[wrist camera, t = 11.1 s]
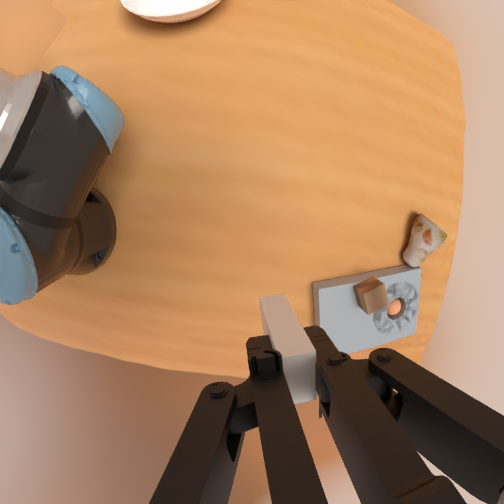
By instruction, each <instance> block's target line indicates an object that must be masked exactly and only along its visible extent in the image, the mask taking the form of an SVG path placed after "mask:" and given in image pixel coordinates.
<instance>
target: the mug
mask: <svg viewBox="0 0 504 504" xmlns="http://www.w3.org/2000/svg"><path fill="white" fill-rule="evenodd" d="M446 237H447V234H446V233H445V232H444V231H443V230H441V229H440V228H439V227H438V226H437V225H435V224H434V223H433V222H432V221H430V220H429V219H428V218H427V217H425V216H424V215H422V214H419V215H418V216H417V218H416V219H415V221H414V223H413V227H412V232H411V237H410V241H409V244H408V246H407V248H406V250H405V251H404V253H403V259H404V261H405V262H406V263H407V264H408V265H410V266H411V267H417V266H419V265H420V264H421V263H422V262H423V261H424V260H425V258H426V256H427V255H429V254H430V253H432V252H433V251H435V250H436V249H437V248H439V247H440V246H441V245H442V244H443V243H444V241H445V240H446Z"/></svg>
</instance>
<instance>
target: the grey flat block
mask: <svg viewBox="0 0 504 504" xmlns="http://www.w3.org/2000/svg"><path fill="white" fill-rule="evenodd" d="M372 276H373V277H375V278H376V279H378V280H380V281H381V282H383V283H384V284H385V289H386V294H387V298H388V304H390V303H391V302H392V301H393V300H394V299H395V298H398V299H399V300H400V302H401V309H400V311H399V312H398V313H397V314H396V315H389V314H387V308H388V306H389V305H387V306H385V307H383V308H381V309H379V310H378V311H376V312H374V313H372V314H370V315H367V314H366V313H365V312H364V311H363V310H362V309H361V308H360V307H359V306H358V304H357V300H356V296H355V292H354V289H353V286H354V285H356V284H358V283H360V282H362V281H364V280H366V279H368V278H370V277H372ZM420 284H421V268H420V267H418V266H417V267H411V266H410V265H408V264H406V265H401V266H397V267H392V268H387V269H382V270H377V271H372V272H367V273H362V274H356V275H351V276H346V277H340V278H335V279H329V280H324V281H318V282H312V286H313V304H314V326H315V325H317V326H319V327H321V328H323V329H324V330H325V332H326V333H327V335H328V336H329V338H330V339H331V340H332V342H333V343H334V345H335V346H336V348H337V349H338V351H340V352H344V353H347V354H350V353H354V352H357V351H361V350H364V349H368V348H371V347H375V346H378V345H382V344H385V343H388V342H391V341H394V340H397V339H401V338H404V337H406V336H409V335H412V334H415V331H416V324H417V316H418V307H419V297H420Z"/></svg>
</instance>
